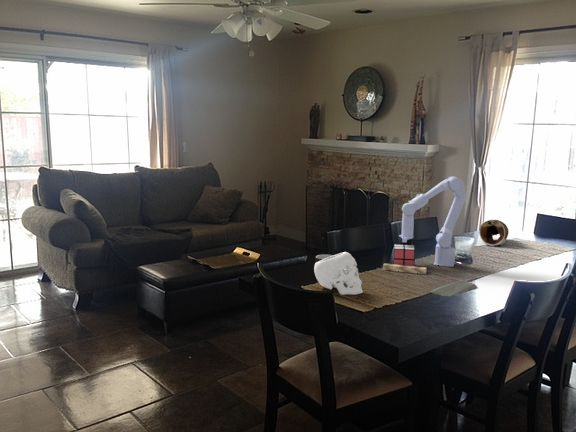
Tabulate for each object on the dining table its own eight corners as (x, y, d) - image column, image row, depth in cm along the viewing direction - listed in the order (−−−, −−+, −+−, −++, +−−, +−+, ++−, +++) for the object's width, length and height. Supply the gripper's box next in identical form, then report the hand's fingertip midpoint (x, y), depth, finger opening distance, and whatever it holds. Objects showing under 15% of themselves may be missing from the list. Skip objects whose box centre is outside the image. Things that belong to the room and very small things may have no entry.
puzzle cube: (414, 269, 249) (415, 249, 247) (393, 268, 251) (393, 248, 249) (413, 264, 259) (414, 245, 257) (393, 263, 261) (393, 244, 259)
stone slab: (478, 291, 221) (458, 282, 229) (479, 285, 221) (459, 277, 228) (447, 302, 208) (427, 293, 215) (448, 296, 207) (428, 287, 214)
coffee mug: (321, 281, 230) (322, 260, 228) (312, 277, 237) (312, 255, 236) (343, 278, 235) (344, 257, 233) (333, 273, 243) (333, 253, 241)
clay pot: (513, 220, 315) (505, 218, 295) (514, 245, 314) (506, 245, 293) (488, 221, 324) (478, 219, 303) (489, 246, 322) (479, 245, 302)
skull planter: (357, 295, 204) (339, 250, 207) (320, 308, 217) (304, 266, 220) (374, 287, 215) (357, 245, 218) (338, 300, 228) (322, 260, 230)
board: (426, 272, 244) (426, 267, 244) (425, 274, 241) (425, 269, 241) (384, 268, 252) (384, 263, 251) (382, 269, 249) (383, 264, 249)
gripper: (402, 224, 267) (401, 249, 269) (396, 229, 253) (395, 256, 256) (416, 225, 264) (415, 251, 266) (411, 230, 251) (410, 257, 253)
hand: (406, 253), depth 261 cm, fingers closed
